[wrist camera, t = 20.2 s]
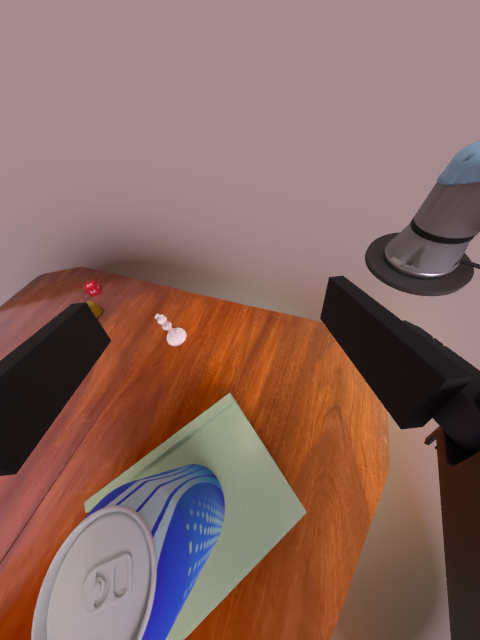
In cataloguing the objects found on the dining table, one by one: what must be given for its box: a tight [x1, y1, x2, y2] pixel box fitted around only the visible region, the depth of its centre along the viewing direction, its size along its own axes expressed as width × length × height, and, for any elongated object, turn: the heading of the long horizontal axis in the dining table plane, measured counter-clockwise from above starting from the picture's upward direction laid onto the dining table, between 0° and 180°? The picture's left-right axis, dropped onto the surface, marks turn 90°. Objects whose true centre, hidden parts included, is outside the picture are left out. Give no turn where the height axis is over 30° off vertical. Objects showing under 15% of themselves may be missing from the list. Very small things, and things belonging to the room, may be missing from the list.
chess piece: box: [155, 314, 187, 346], centre depth 42 cm, size 5×5×10 cm
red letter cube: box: [84, 280, 102, 297], centre depth 59 cm, size 3×3×3 cm
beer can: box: [31, 464, 225, 640], centre depth 17 cm, size 8×8×16 cm
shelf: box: [84, 393, 307, 640], centre depth 26 cm, size 16×22×10 cm
